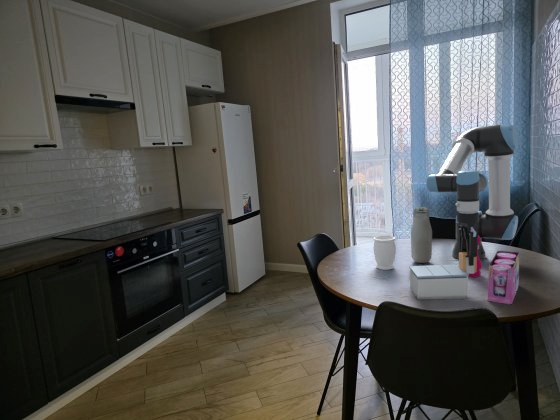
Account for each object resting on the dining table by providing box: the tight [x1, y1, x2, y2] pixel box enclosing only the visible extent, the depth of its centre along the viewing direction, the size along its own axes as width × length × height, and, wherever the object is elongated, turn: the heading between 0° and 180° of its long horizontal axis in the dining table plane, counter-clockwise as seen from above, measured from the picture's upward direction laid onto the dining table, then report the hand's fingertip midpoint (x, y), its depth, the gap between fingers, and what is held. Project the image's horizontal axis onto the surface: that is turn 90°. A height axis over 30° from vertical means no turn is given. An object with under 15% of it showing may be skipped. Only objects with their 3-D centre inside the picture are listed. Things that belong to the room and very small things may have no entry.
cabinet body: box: [409, 269, 469, 301], centre depth 145 cm, size 18×12×8 cm, turn 84°
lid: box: [408, 252, 477, 278], centre depth 144 cm, size 23×13×7 cm, turn 84°
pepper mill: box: [468, 236, 483, 278], centre depth 162 cm, size 7×7×20 cm
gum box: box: [487, 250, 520, 305], centre depth 140 cm, size 24×8×14 cm, turn 142°
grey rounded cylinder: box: [410, 206, 433, 264], centre depth 184 cm, size 10×10×28 cm
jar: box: [373, 235, 397, 271], centre depth 181 cm, size 11×10×15 cm
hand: (467, 271), depth 144 cm, fingers closed on lid, 4 cm apart
